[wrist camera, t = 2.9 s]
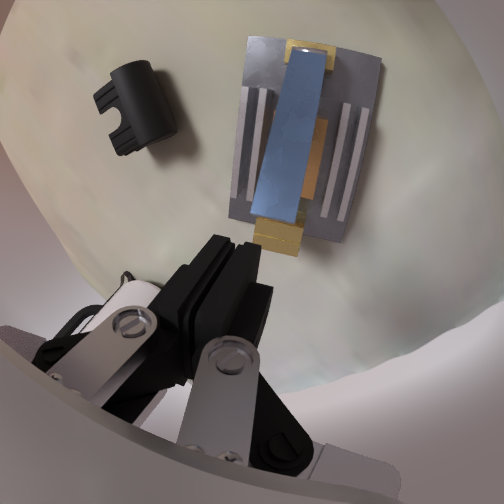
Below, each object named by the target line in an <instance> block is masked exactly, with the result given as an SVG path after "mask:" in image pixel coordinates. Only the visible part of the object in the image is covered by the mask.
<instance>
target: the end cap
mask: <svg viewBox="0 0 504 504" xmlns="http://www.w3.org/2000/svg"><path fill="white" fill-rule="evenodd" d="M110 75H111V78H112V80H111V81H110V82H108V83H107V84H106V85H105V86H103V87H102V88H101V89H100V90H98V91H97V92H96V93H95V94H94V95H93V97H94V100H95V103H96V105H97V108H98V111H99V113H100V114H103V113H104V112H106V111H107V110H108V109H110V108H111V107H115V108H117V109H118V110H119V111H120V113H121V124H120V126H119V127H118V129H116V130H115V131H113V132H112V133H111V134H109V137H110V140H111V142H112V145H113V147H114V149H115V151H116V153H117V155H118V156H122V155H125V156H127V155H128V154H130V153H132V152H134V151H139V150H140V149H142V148H144V147H146V146H148V145H150V144H153V143H156V142H158V141H161V140H164V139H167V138H169V137H171V136H173V135H174V134H176V133H177V132H178V128H177V126H176V124H175V121H174V119H173V117H172V114H171V112H170V110H169V107H168V105H167V103H166V100H165V98H164V96H163V93H162V91H161V89H160V86H159V84H158V81H157V79H156V77H155V74H154V72H153V69H152V67H151V65H150V62H148V61H146V60H139V61H134V62H130V63H128V64H125V65H123V66H121V67H119V68H117V69H116V70H114V71H113V72H111V73H110Z"/></svg>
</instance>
